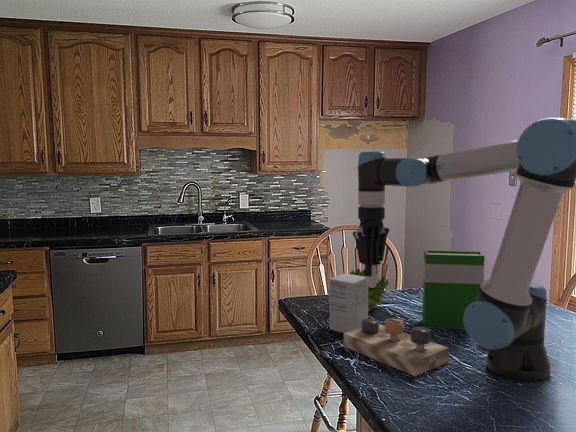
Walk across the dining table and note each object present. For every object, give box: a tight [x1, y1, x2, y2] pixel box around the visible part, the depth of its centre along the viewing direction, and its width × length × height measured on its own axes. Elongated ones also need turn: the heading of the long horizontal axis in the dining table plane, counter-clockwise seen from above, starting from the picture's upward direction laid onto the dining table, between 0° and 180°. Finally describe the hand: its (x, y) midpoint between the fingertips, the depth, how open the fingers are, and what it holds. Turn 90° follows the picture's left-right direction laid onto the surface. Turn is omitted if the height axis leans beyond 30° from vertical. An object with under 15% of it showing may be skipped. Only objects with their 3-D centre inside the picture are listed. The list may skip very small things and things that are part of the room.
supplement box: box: [328, 272, 369, 334], centre depth 164 cm, size 10×9×17 cm
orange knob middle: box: [384, 317, 404, 343], centre depth 143 cm, size 5×5×7 cm
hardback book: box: [421, 249, 486, 331], centre depth 166 cm, size 18×7×24 cm, turn 80°
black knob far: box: [362, 318, 380, 334], centre depth 150 cm, size 5×5×7 cm
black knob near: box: [410, 326, 431, 353], centre depth 136 cm, size 5×5×7 cm
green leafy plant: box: [348, 268, 390, 313], centre depth 186 cm, size 18×16×16 cm
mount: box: [343, 323, 450, 377], centre depth 144 cm, size 26×14×4 cm, turn 38°
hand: (371, 286), depth 149 cm, fingers closed
